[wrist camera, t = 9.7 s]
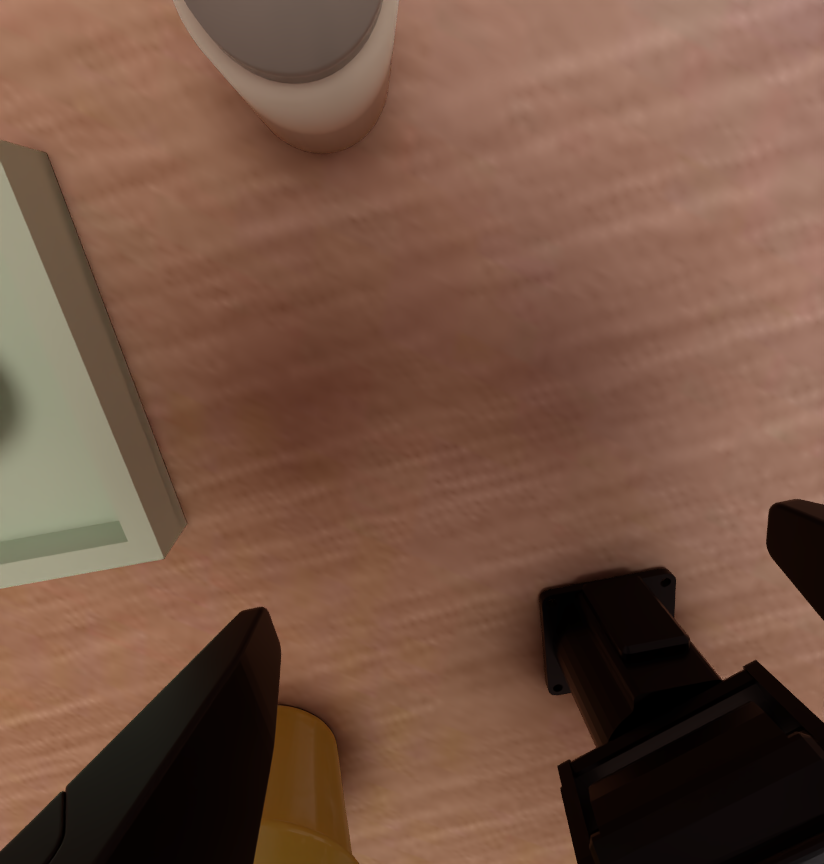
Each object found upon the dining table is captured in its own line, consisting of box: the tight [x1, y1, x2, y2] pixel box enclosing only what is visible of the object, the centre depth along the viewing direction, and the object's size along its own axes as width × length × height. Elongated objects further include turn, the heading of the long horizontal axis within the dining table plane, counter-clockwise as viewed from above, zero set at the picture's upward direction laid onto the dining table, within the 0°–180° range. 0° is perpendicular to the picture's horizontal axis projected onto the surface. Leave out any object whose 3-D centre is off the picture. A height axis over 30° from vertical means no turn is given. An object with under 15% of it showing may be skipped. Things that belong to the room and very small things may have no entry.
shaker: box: [173, 0, 399, 154], centre depth 12 cm, size 5×5×7 cm
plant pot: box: [254, 705, 359, 864], centre depth 21 cm, size 10×10×10 cm
